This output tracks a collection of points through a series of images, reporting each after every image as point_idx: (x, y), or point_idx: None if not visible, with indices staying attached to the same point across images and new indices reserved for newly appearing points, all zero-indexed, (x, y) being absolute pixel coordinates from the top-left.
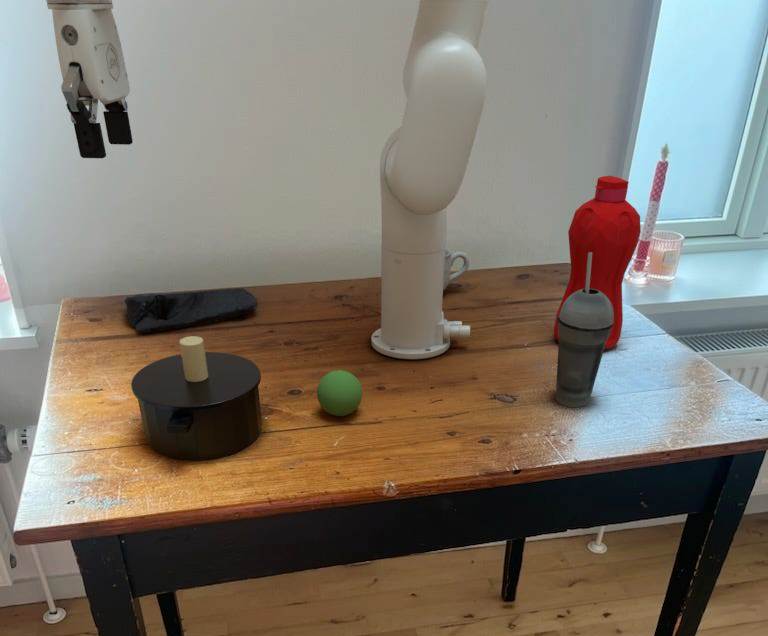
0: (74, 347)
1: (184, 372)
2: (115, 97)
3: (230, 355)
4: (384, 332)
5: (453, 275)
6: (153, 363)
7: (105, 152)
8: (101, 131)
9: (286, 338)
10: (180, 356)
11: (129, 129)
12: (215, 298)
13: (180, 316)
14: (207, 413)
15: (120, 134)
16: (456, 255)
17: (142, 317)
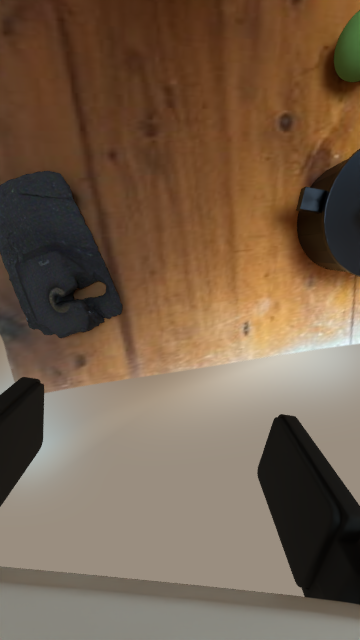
0: (150, 365)
1: None
2: (255, 627)
3: (344, 173)
4: None
5: None
6: (343, 263)
7: (289, 420)
8: (328, 480)
9: (134, 133)
10: (332, 235)
11: (2, 405)
12: (53, 228)
13: (98, 269)
14: None
15: (26, 428)
16: None
17: (96, 312)
